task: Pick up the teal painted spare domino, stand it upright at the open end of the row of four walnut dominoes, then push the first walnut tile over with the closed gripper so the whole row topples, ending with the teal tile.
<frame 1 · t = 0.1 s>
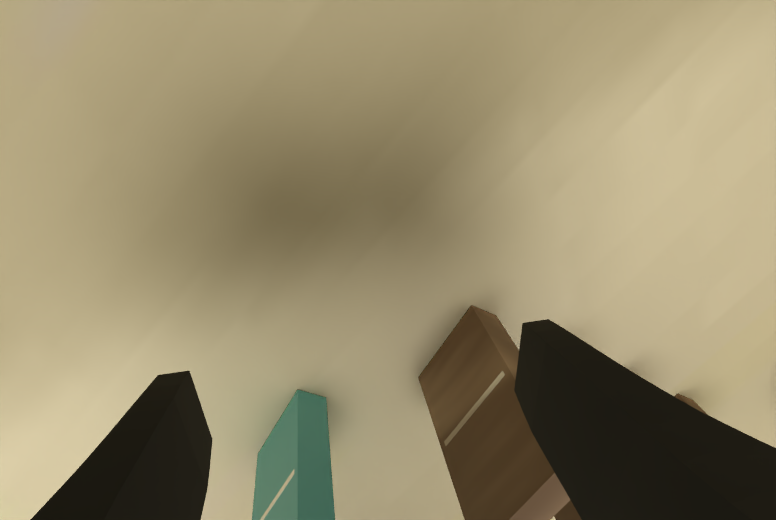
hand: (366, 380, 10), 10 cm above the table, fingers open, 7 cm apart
domino 4: (456, 347, 23), on the table
domino 3: (534, 376, 26), on the table
spare domino: (291, 426, 24), on the table
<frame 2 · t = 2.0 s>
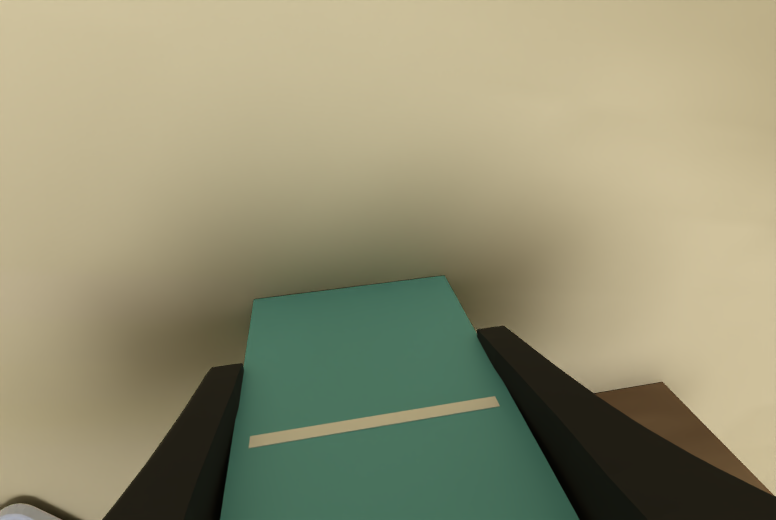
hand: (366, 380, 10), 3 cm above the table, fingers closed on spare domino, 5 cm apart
domino 4: (592, 409, 16), on the table
spare domino: (354, 312, 12), on the table, touching gripper
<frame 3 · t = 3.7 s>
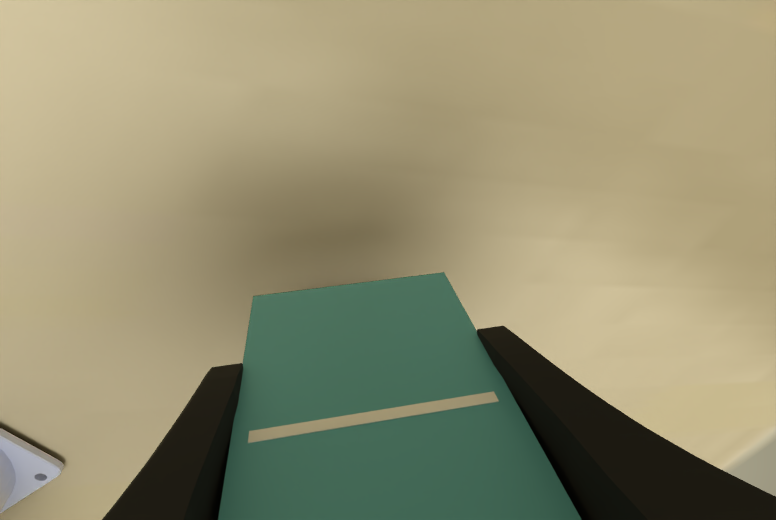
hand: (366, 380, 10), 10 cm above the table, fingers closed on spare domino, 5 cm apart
spare domino: (353, 309, 12), point 7 cm above the table, touching gripper
when the fingers open (3 cm above the table, at t = 5.3 s): spare domino stays where it is, on the table.
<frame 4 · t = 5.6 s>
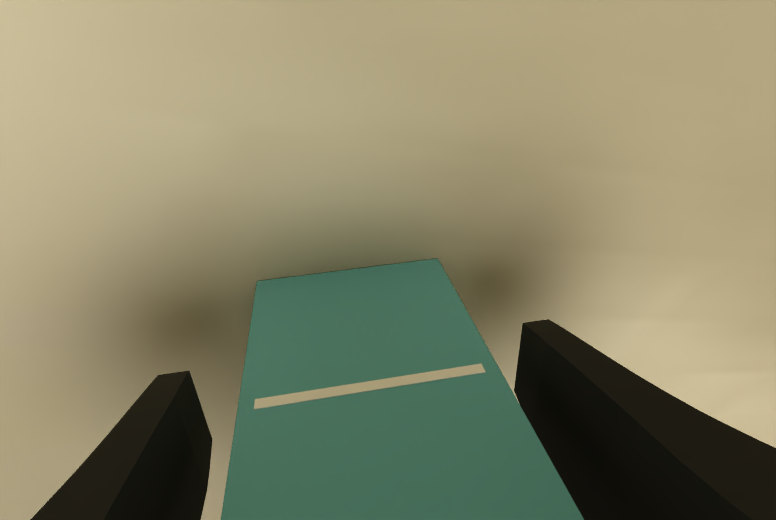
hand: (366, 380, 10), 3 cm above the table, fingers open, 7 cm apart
spare domino: (352, 293, 13), on the table
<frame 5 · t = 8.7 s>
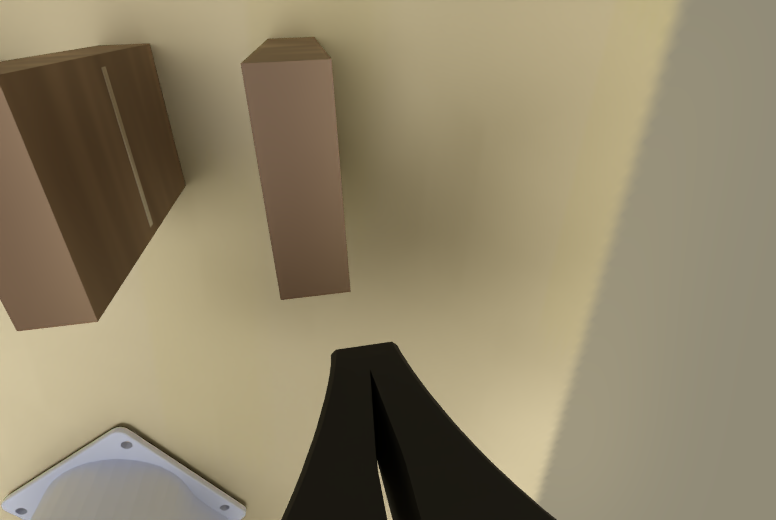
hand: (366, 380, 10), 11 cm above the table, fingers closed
domino 2: (145, 121, 16), on the table
domino 1: (299, 111, 17), on the table
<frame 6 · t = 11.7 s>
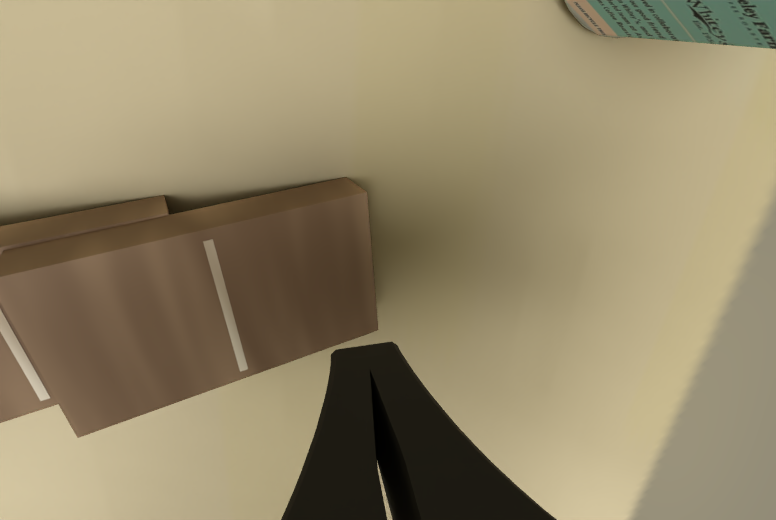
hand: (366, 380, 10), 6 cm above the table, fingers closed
domino 2: (188, 278, 14), point 1 cm above the table, tilted 73°, touching domino 1, domino 3
domino 1: (362, 256, 15), point 1 cm above the table, tilted 73°, touching domino 2
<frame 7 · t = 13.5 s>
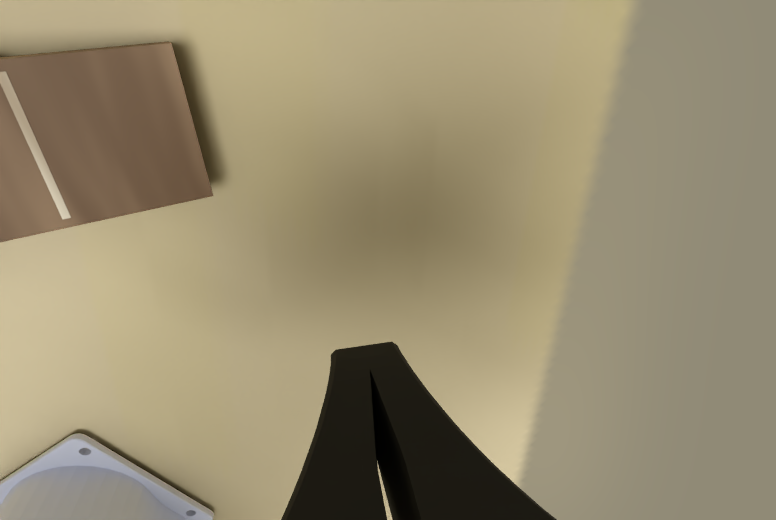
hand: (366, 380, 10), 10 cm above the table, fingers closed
domino 1: (191, 121, 16), point 1 cm above the table, tilted 73°, touching domino 2
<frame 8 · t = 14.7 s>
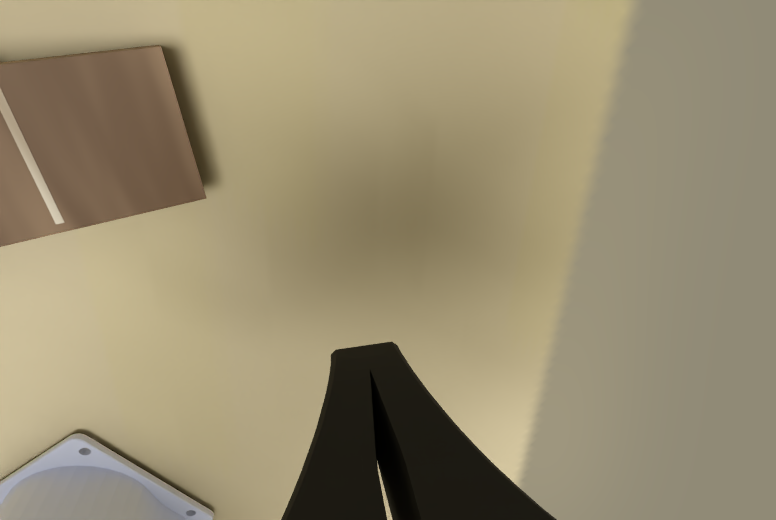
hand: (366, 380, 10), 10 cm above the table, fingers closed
domino 1: (183, 124, 16), point 1 cm above the table, tilted 73°, touching domino 2
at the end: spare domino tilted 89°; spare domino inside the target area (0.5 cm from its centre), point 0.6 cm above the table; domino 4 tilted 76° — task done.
